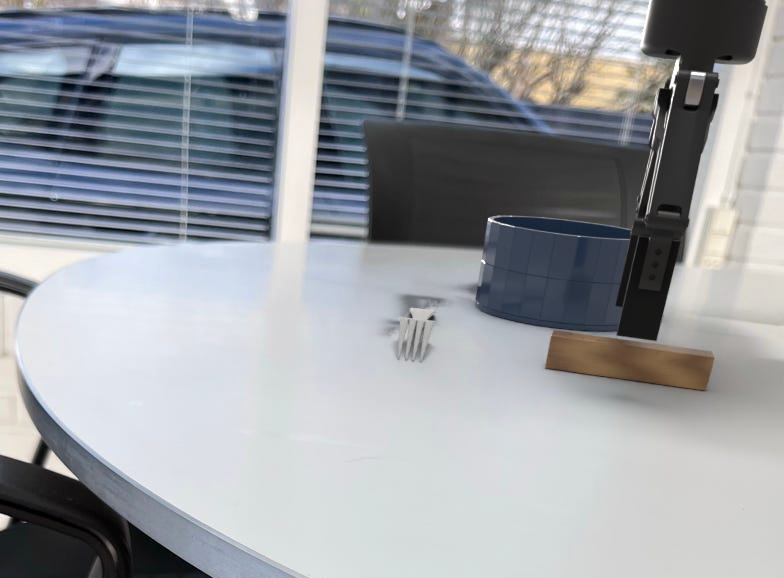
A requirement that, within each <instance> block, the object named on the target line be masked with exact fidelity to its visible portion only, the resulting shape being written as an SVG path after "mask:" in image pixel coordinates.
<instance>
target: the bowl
mask: <svg viewBox="0 0 784 578" xmlns="http://www.w3.org/2000/svg"><path fill="white" fill-rule="evenodd" d="M631 230H632V228H631V229H630V228H625V227H620V226H615V225H609V224H602V223H595V222H587V221H580V220H572V219H563V218H551V217H542V216H541V217H540V216H528V215H527V216H525V215H495V216H490V217H488V218H487V224H486V229H485V237H484V243H483V248H482V249H483V250H482V254H481V255H482V256H481V261H480V268H479V274H478V281H477V288H476V293H475V302H474V303H475V304H474V305H475V308H477V309H478V310H480V311H481V312H484V313H486V314H488V315H491V316H494V317H498V318H501V319H505V320H508V321H513V322H517V323H522V324H526V325H527V324H528V325H533V326H540V327H546V328H552V329H554V328H555V329H562V330H563V329H564V330H572V331H584V330H586V331H588V332H614V331H616V330H618V325H619V321H620V317H621V312H622V308H623V307H619V306H616V300H617V296H618V291H619V287H620V282H621V278H622V273H623V269H624V264H625V260H626V255H627V251H628V246H629V242H630V237H631V235H630V234H631ZM616 332H617V331H616Z"/></svg>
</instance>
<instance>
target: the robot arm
mask: <svg viewBox="0 0 784 578" xmlns="http://www.w3.org/2000/svg"><path fill="white" fill-rule="evenodd" d="M768 9H769V6H768V5H767V1H766V0H649V3H648V7H647V12H646V16H645V21H644V26H643V31H642V36H641V40H640V45H639V46H640V50H641V52H642V54H643V55H645V56H648V57H652V58H656V59H663V60H664V59H666V60H674V61H675V63H674V67H673V72H672V75H669V76H668V77H667V78H666V81H664V85H663V87H659V88H657V90H656V94H655V98H654V101H653V107H652V114H651V116H652V118H653V121H652V125H651V129H650V133H649V138H648V143H647V144H648V148H649V149H650V153H649V157H648V161H647V165H646V169H645V173H644V176H643V177H644V178H643V182H642V185H641V186H642V187H641V190H640V194H639V195H638V196H637V199H636V203H637V206H636V208H635V215H636V217H635V218H636V219H633V222H632V226H631V234H630V235H631V237H630V242H629V246H628V251H627V255H626V260H625V264H624V269H623V273H622V278H621V282H620V287H619V291H618V296H617V300H616V306H619V307H623V308H622V312H621V317H620V321H619V325H618V330H617V331H616V337H625V338H632V339H637V340H638V339H639V340H645V341H653V342H657V341H658V337H659V334H660V329H661V326H662V325H661V324H662V320H663V316H664V312H665V308H666V305H667V300H668V295H669V292H670V287H671V283H672V279H673V275H674V273H675V267H676V263H677V259H678V255H679V251H680V246H681V243H682V242H681V238H682V237H683V236H685V235H684V234H685V232H686V231H687V229H688V227H689V225H690V218H689V216H690V211H691V206H692V202H693V196H694V191H695V187H696V183H697V176H698V172H699V167H700V162H701V158H702V155H703V152H704V150H705V147H706V144H707V141H708V138H709V132H710V127H711V123H713V120H714V117H715V114H716V111H717V108H718V104H719V98H720V93H715V92H716V90H717V89H718V88H719V85H720V78H719V77H720V75H719V72H714V68H715V64H718V65H730V66H731V65H733V66H734V65H739V66H741V65H747V64H749V63H751V62H752V61H753V60H754V59H755V58H756V56H757V52H758V49H759V44H760V40H761V36H762V33H763V28H764V24H765V21H766V16H767V11H768Z"/></svg>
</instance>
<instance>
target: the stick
mask: <svg viewBox="0 0 784 578" xmlns="http://www.w3.org/2000/svg"><path fill="white" fill-rule="evenodd" d="M546 356H547V357H546V361H545V366H544V368H545V369H549V370H556V371H564V372H570V373H578V374H583V375H584V374H585V375H591V376H598V377H599V376H600V377H606V378H611V379H612V378H613V379H621V380H627V381H634V382H641V383H647V384H656V385H662V386H670V387H677V388H684V389H691V390H698V391H707V389H708V386H709V381H710V378H711V375H712V370H713V367H714V362H715V358H716V357H715V355H714V353H713V351H712V350H705V349H696V348H690V347H683V346H674V345H667V344H660V343H652V342H645V341H638V340H629V339H623V338H615V337H609V336H608V337H607V336H600V335H595V334H584V333H579V332H570V331H564V330H558V329H557V330H555V329H553V330H552V331H551V335H550V340H549V345H548V350H547V355H546Z"/></svg>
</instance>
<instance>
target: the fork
mask: <svg viewBox="0 0 784 578" xmlns="http://www.w3.org/2000/svg"><path fill="white" fill-rule="evenodd" d="M409 311H410V314H411V317H404V316H400V317H399V329H398V341H397V342H398V343H397V344H398V345H397V360H400V359H401V355H402V350H403V345H404V341H405V337H406V332H407V338H406V347H405V361H408V358H409V354H410V352H411V351H410V350H411V346H412V343H413V349H412V358H411V359H412V362H414V361H415V358H416V355H417V352H418V348H419V345H420V340H421V336H422V342H421V350H420V358H419V362H420V363H422V362H423V359H424V355H425V353H426V349H427V347H428V343H429V340H430V337H431V334H432V330H433V327H434V324H435V323H436V321H435V320H430V318H431V317H432V316H434V315H435V314H436V313H437V310H435V309H426V308H418V307H409ZM407 327H408V329H407ZM422 332H423V335H422ZM414 333H415V335H414ZM413 338H414V341H413Z"/></svg>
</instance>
